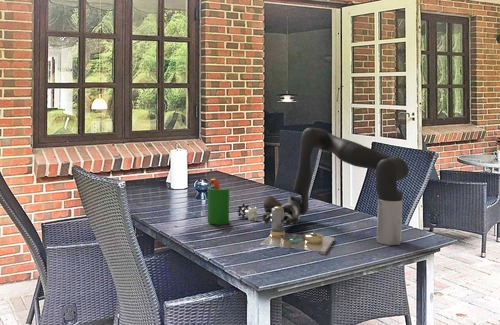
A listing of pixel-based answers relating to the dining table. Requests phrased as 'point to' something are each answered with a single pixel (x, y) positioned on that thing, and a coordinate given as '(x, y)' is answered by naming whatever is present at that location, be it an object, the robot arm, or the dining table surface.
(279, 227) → the silver and brass cylinder
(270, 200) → the stone
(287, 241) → the carrier
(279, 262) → the dining table surface
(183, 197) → the dining table surface
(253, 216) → the valve
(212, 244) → the dining table surface
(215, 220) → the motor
